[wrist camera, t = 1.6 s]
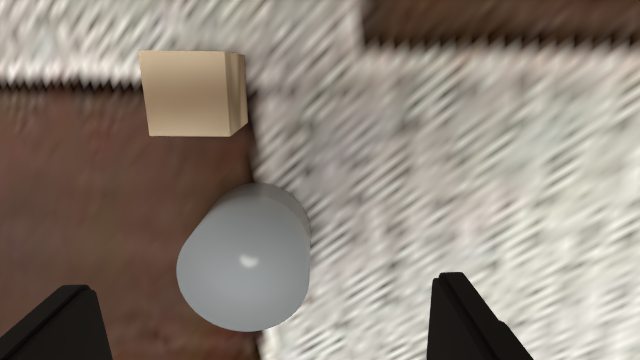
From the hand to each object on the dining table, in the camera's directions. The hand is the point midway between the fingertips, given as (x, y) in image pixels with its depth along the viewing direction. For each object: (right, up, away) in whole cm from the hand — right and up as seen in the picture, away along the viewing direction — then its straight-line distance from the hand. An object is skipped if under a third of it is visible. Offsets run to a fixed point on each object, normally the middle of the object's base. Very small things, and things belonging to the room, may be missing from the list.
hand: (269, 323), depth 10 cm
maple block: (-7, +11, +17) cm, 21 cm away
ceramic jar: (-4, -1, +21) cm, 21 cm away
